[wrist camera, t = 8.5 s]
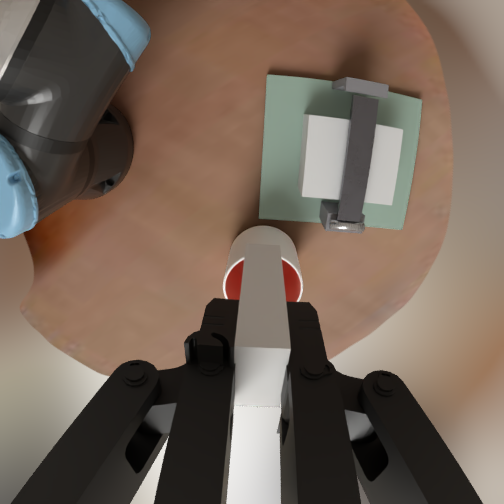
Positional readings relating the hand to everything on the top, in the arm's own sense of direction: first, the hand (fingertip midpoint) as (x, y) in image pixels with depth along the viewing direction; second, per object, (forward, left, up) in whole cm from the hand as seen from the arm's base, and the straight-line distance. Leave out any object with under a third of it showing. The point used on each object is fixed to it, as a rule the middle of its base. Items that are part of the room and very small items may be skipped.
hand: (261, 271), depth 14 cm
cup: (+1, -14, -31) cm, 34 cm away
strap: (+11, +2, -24) cm, 26 cm away
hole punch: (+11, +2, -30) cm, 32 cm away
